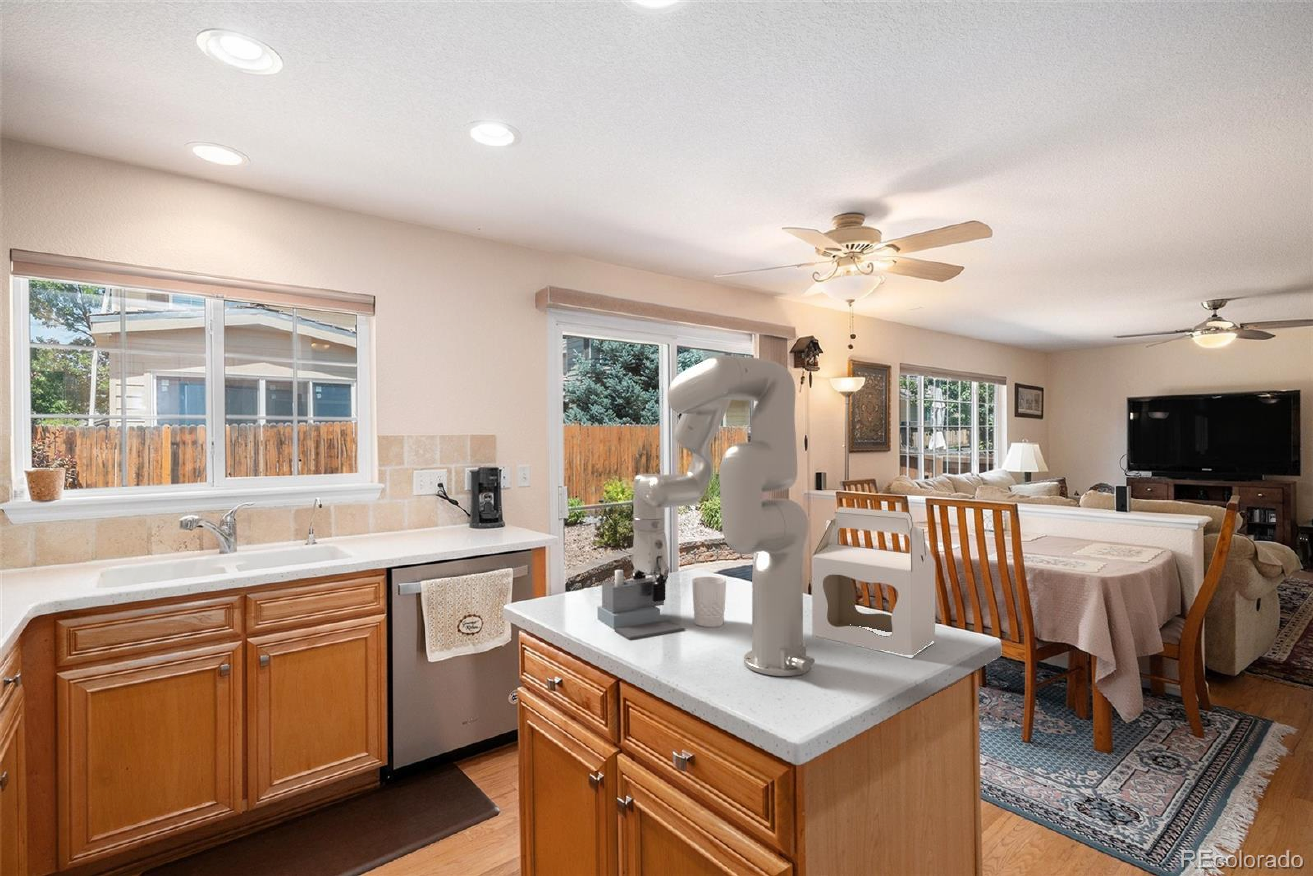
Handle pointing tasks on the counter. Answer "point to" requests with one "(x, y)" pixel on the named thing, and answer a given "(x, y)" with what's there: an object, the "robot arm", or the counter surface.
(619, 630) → the mat
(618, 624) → the grey peg stand
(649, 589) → the block
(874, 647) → the gable box
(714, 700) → the counter surface
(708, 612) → the white cup
